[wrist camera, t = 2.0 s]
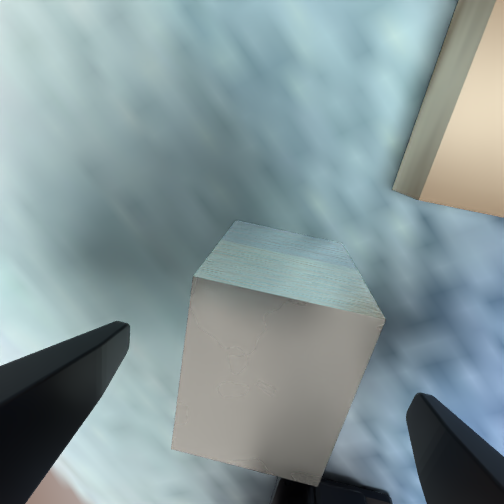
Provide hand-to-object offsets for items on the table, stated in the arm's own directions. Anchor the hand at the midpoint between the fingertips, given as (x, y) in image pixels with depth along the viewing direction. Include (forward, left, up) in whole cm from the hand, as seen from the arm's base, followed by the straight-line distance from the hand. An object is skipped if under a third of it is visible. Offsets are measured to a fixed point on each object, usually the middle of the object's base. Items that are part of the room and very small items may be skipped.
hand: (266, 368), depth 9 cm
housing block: (0, 0, -5) cm, 5 cm away
